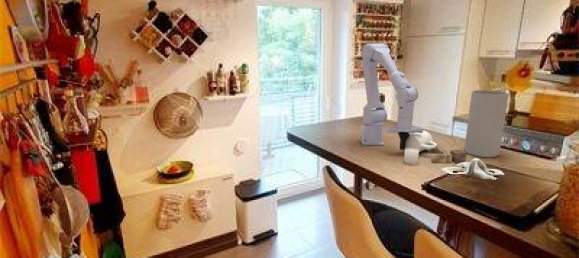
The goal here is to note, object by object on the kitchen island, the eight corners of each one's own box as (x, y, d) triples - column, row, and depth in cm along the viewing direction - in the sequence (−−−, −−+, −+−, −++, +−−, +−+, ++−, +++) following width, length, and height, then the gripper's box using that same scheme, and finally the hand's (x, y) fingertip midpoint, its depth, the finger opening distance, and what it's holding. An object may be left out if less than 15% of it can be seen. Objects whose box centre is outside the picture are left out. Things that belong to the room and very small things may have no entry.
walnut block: (455, 163, 123) (457, 153, 122) (449, 160, 127) (450, 150, 126) (465, 162, 124) (466, 152, 123) (458, 159, 128) (459, 149, 127)
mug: (401, 151, 138) (403, 132, 135) (414, 146, 143) (416, 128, 141) (428, 158, 128) (430, 139, 126) (441, 153, 134) (443, 134, 132)
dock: (432, 162, 124) (433, 155, 124) (412, 144, 146) (413, 137, 146) (451, 162, 124) (452, 155, 123) (428, 144, 146) (429, 137, 145)
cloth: (433, 174, 115) (435, 158, 113) (456, 161, 127) (457, 146, 125) (505, 195, 99) (508, 176, 97) (523, 178, 110) (527, 161, 109)
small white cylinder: (406, 164, 123) (407, 152, 122) (402, 160, 128) (403, 147, 126) (419, 164, 123) (420, 152, 121) (415, 160, 127) (416, 147, 126)
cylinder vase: (498, 150, 136) (508, 91, 130) (499, 160, 126) (509, 95, 120) (464, 146, 143) (472, 89, 136) (463, 154, 132) (471, 93, 126)
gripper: (389, 119, 128) (387, 152, 131) (427, 119, 127) (423, 152, 131) (385, 115, 135) (382, 147, 138) (420, 115, 134) (417, 147, 138)
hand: (402, 149), depth 135 cm, fingers closed, pressing on mug
